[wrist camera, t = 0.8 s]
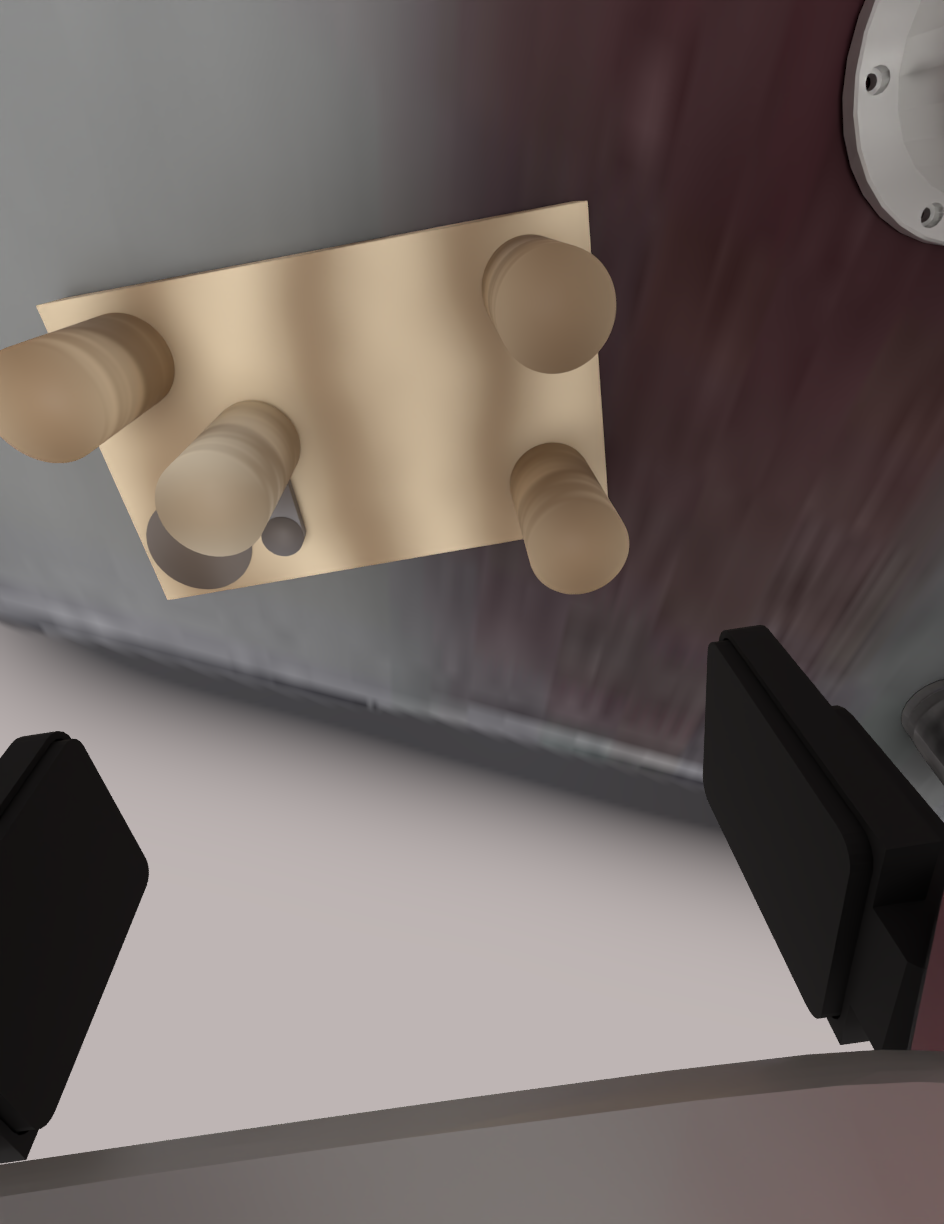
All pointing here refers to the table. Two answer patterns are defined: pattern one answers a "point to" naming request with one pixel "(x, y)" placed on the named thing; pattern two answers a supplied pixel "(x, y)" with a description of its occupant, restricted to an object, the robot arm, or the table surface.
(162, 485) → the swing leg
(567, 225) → the stool seat
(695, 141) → the table surface
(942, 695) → the beverage cup
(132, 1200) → the robot arm
